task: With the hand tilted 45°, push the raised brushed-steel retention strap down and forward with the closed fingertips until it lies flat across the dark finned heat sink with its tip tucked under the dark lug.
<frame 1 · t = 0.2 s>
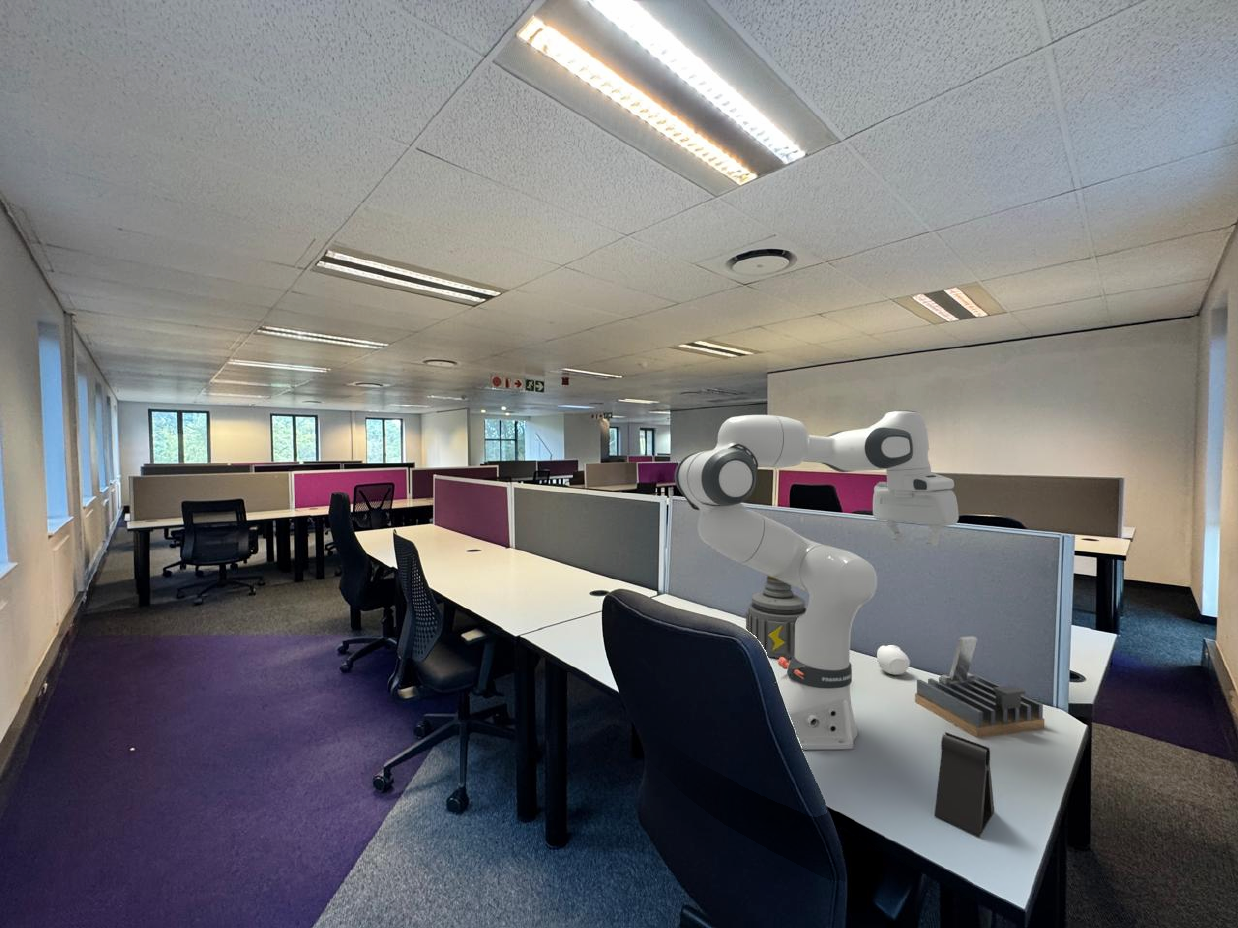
hand: (914, 542, 113), 39 cm above the table, tool pointing down, fingers open, 8 cm apart
heat sink: (976, 714, 114), on the table
motion sensor: (892, 674, 136), on the table
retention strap: (962, 659, 117), point 11 cm above the table, hinge at 75.0°
tesla coil: (777, 649, 153), on the table
black coffee bag: (964, 815, 81), on the table
coffee cup: (809, 678, 132), on the table
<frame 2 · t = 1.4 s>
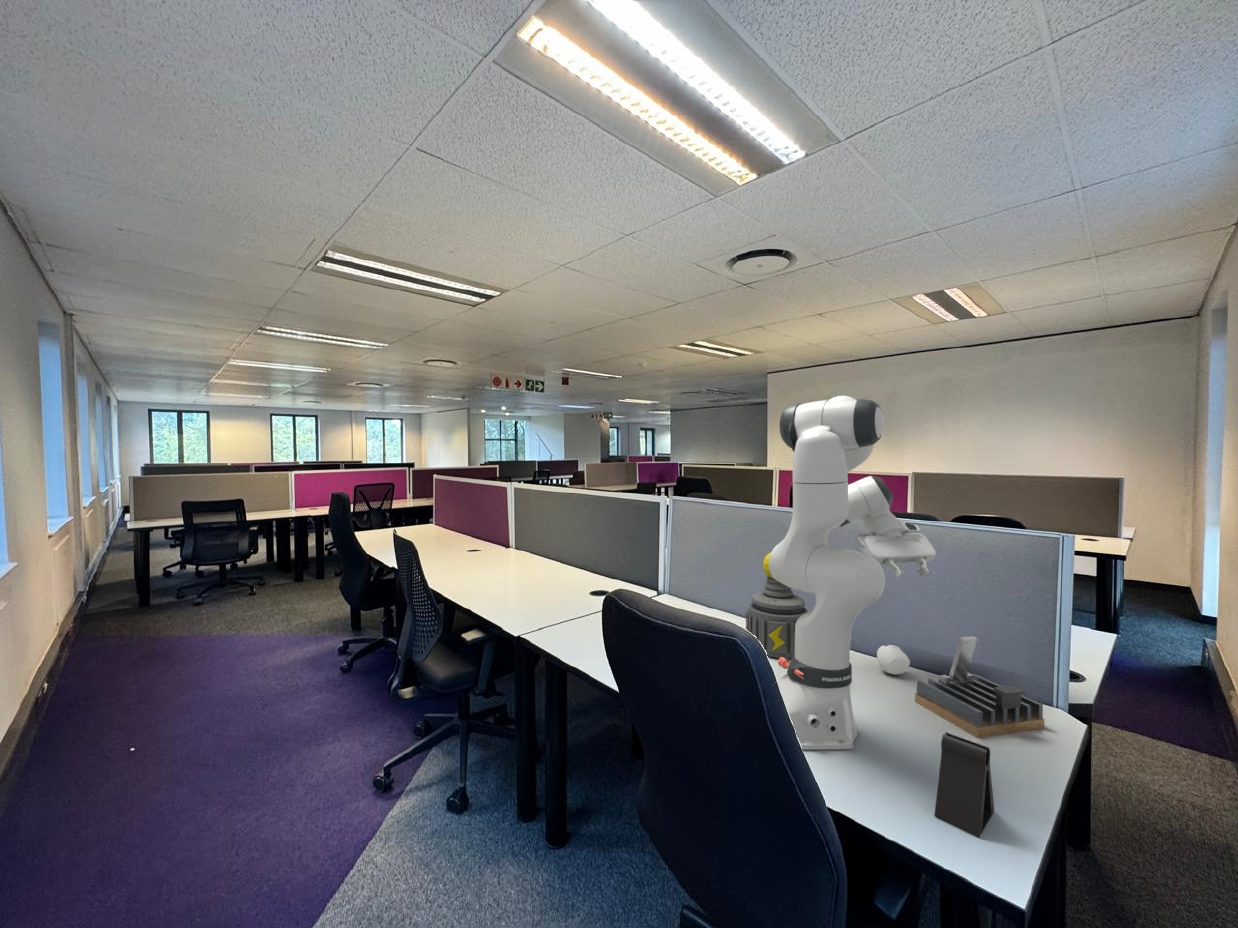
hand: (913, 575, 131), 28 cm above the table, tool tilted 45°, fingers open, 6 cm apart
nothing on the table moved.
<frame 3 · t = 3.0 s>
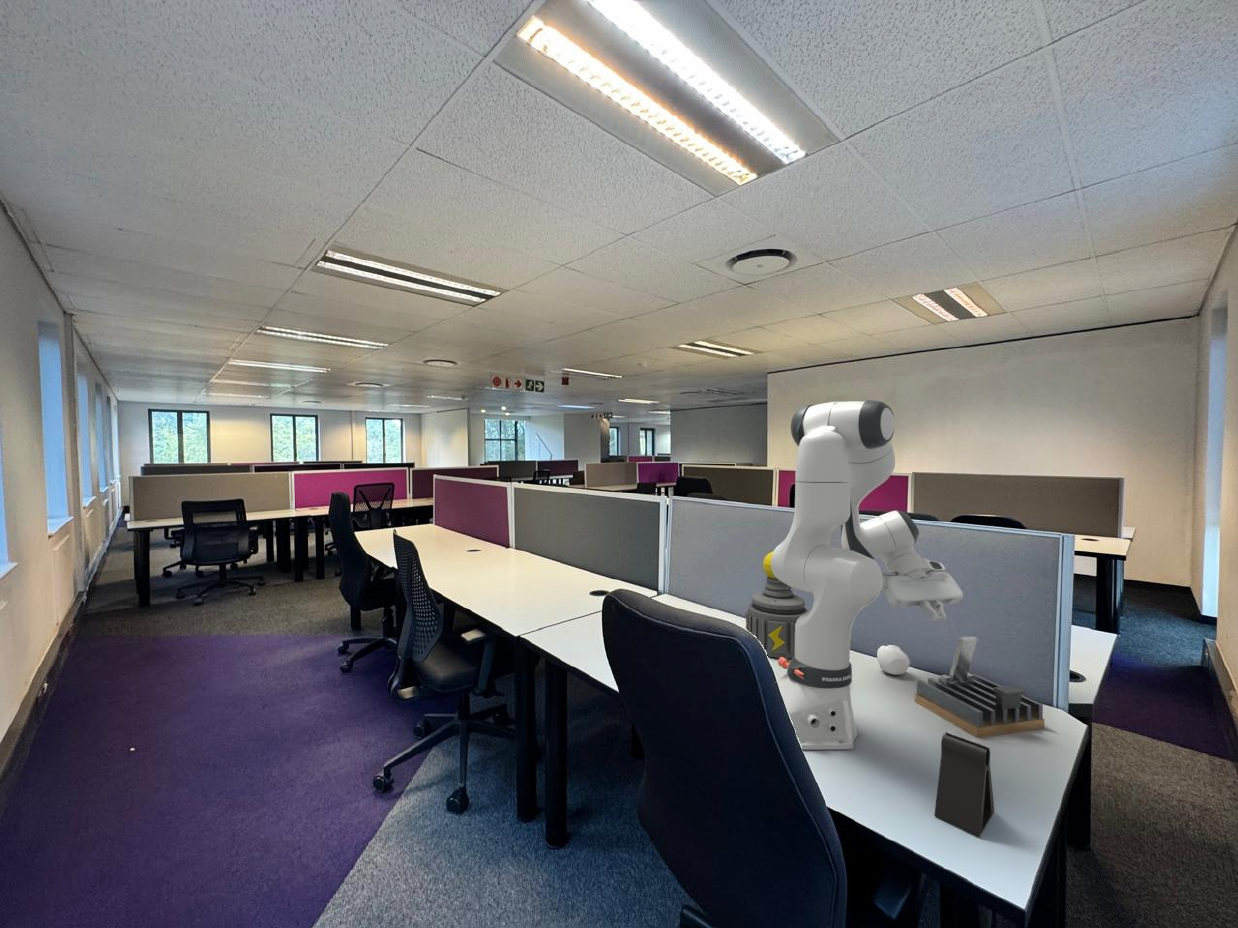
hand: (940, 619, 123), 19 cm above the table, tool tilted 45°, fingers closed
nothing on the table moved.
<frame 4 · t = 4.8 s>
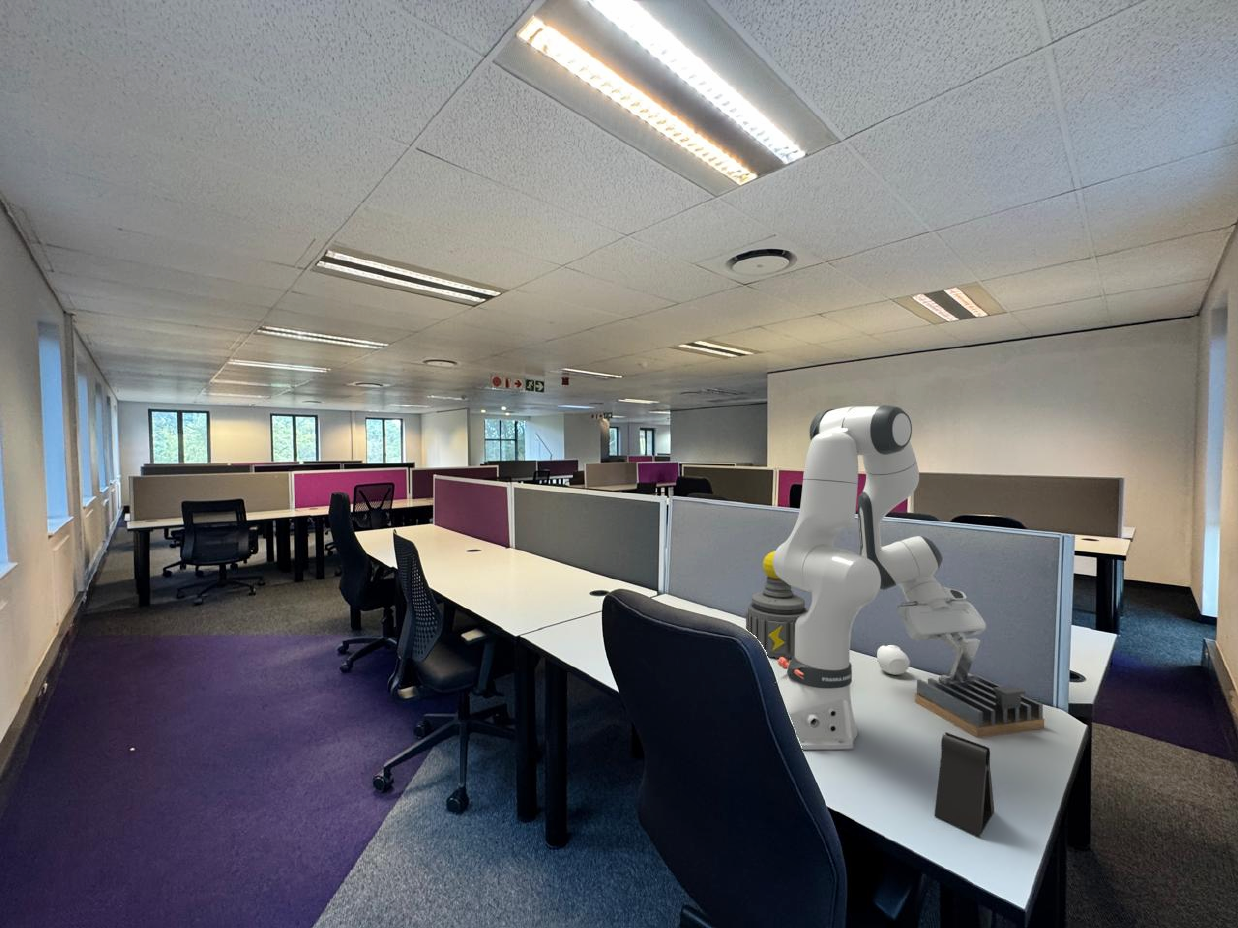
hand: (963, 653, 117), 12 cm above the table, tool tilted 45°, fingers closed, pressing on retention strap
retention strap: (963, 660, 117), point 11 cm above the table, hinge at 70.8°, touching gripper
everything else where it was.
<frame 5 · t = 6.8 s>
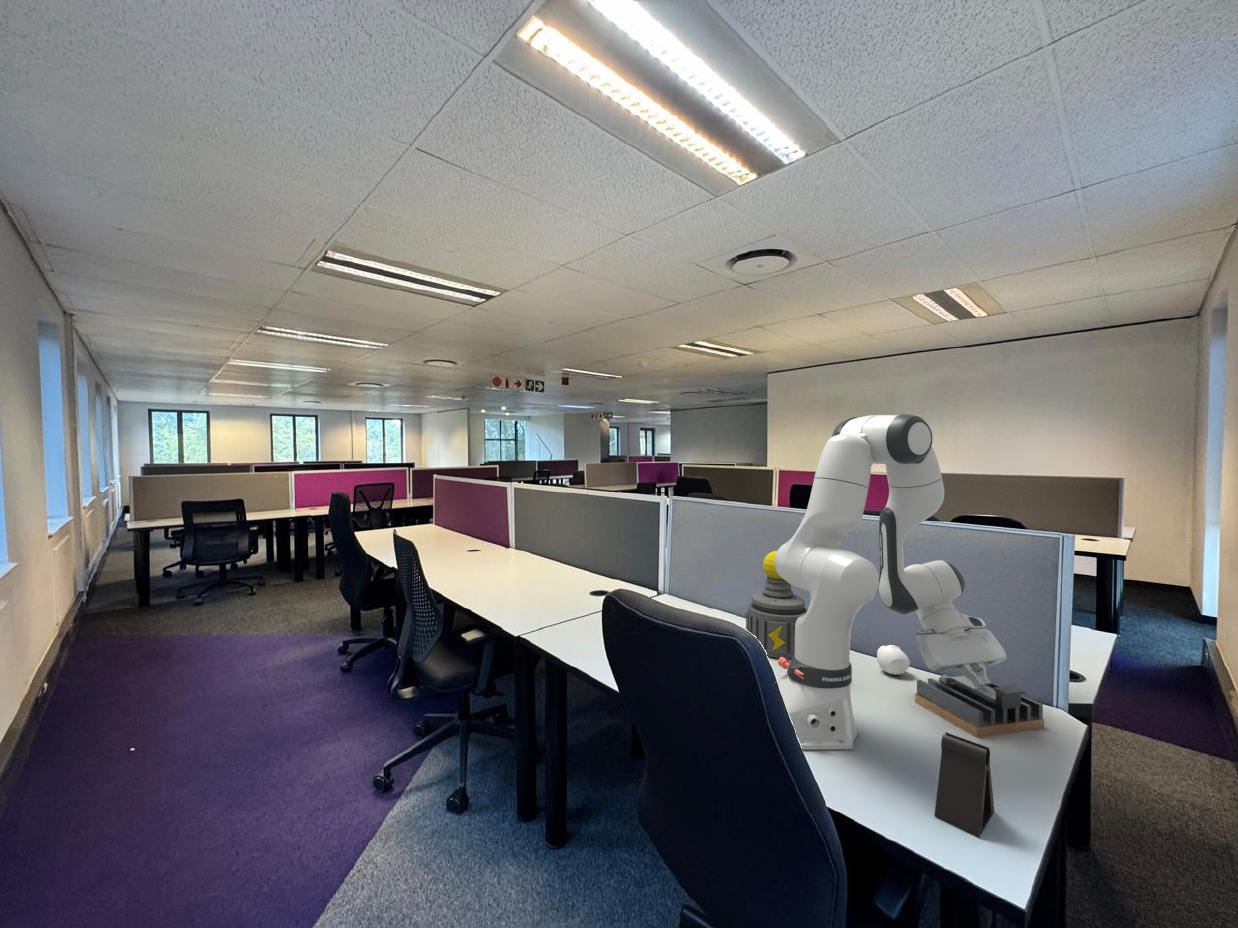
hand: (983, 685, 112), 7 cm above the table, tool tilted 45°, fingers closed, pressing on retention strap
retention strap: (977, 688, 113), point 6 cm above the table, hinge at -0.7°, touching gripper
everything else where it was.
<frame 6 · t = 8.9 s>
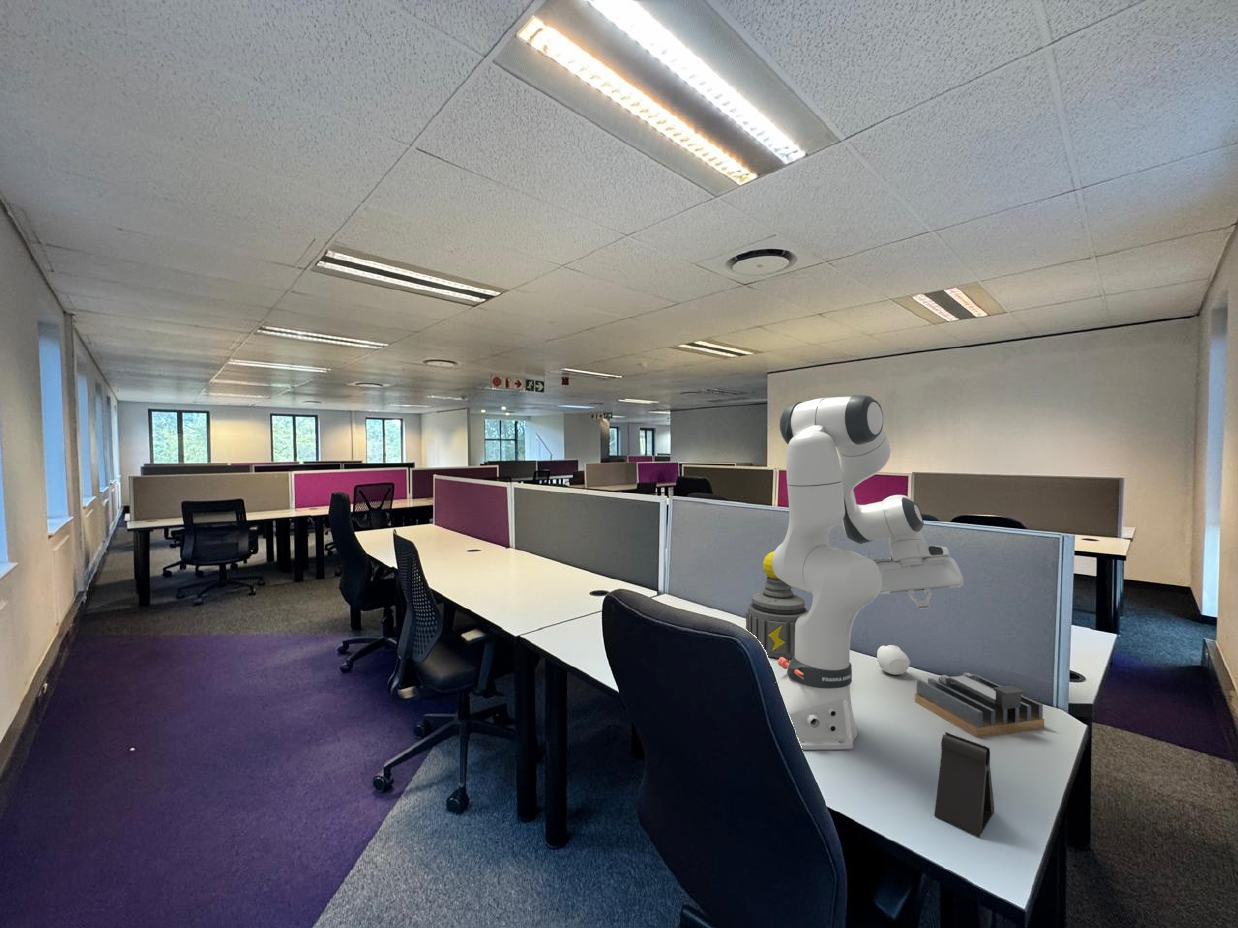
hand: (923, 608, 127), 20 cm above the table, tool tilted 25°, fingers closed
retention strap: (977, 688, 113), point 6 cm above the table, hinge at -0.8°
everything else where it was.
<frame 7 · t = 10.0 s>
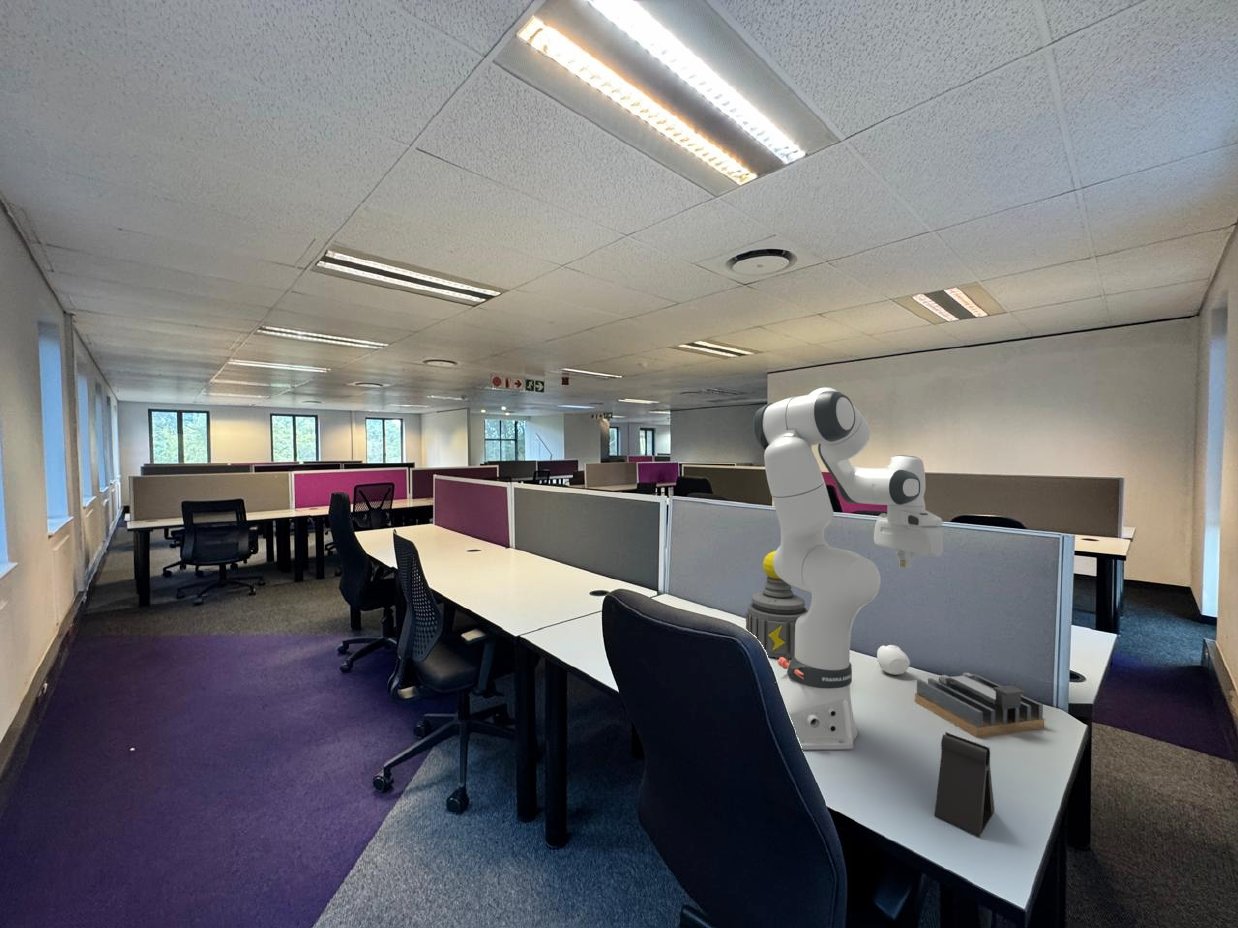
hand: (905, 567, 134), 29 cm above the table, tool pointing down, fingers closed
nothing on the table moved.
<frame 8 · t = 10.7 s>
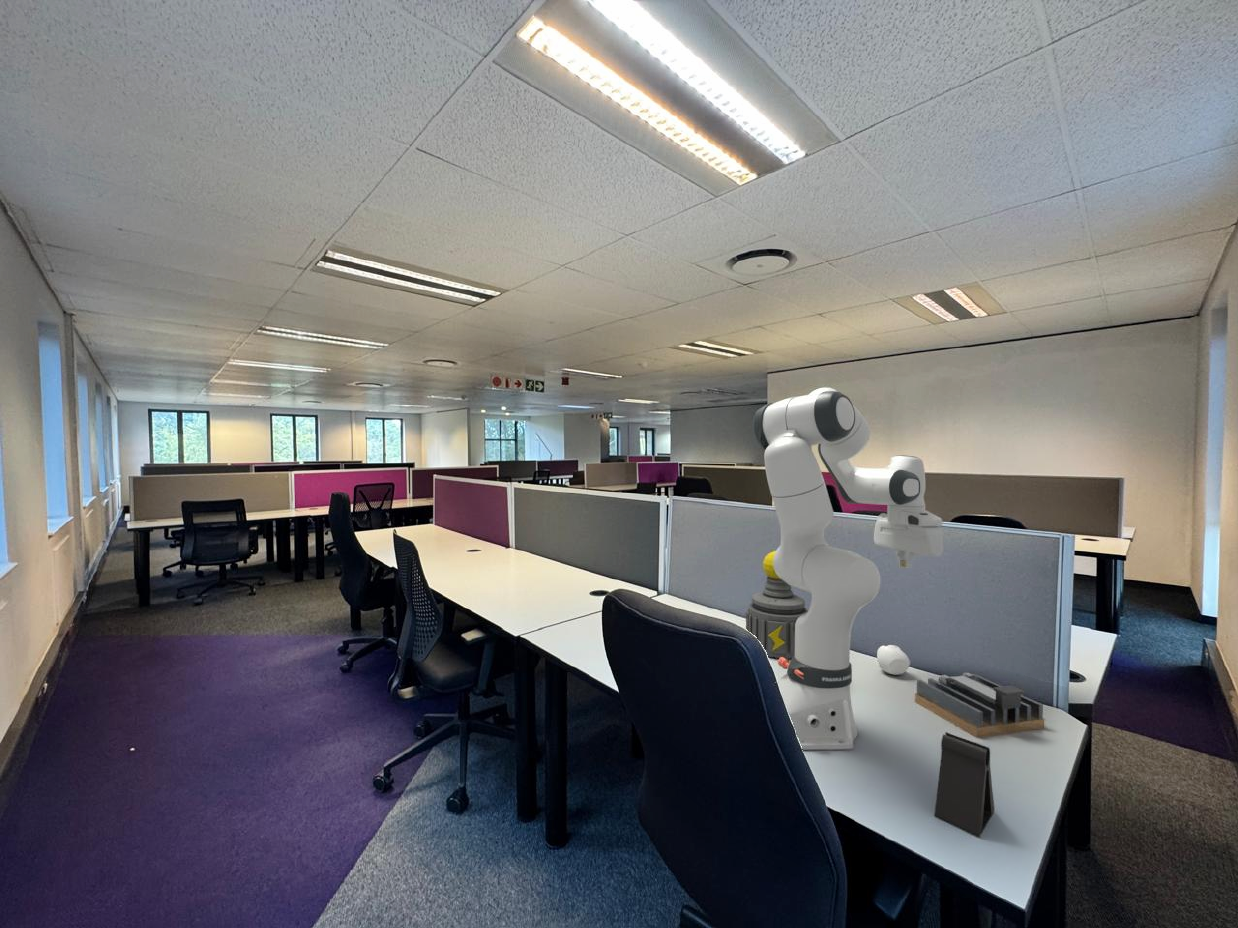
hand: (905, 567, 134), 29 cm above the table, tool pointing down, fingers closed
nothing on the table moved.
at the end: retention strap at -1° (first picture: +75°) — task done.
